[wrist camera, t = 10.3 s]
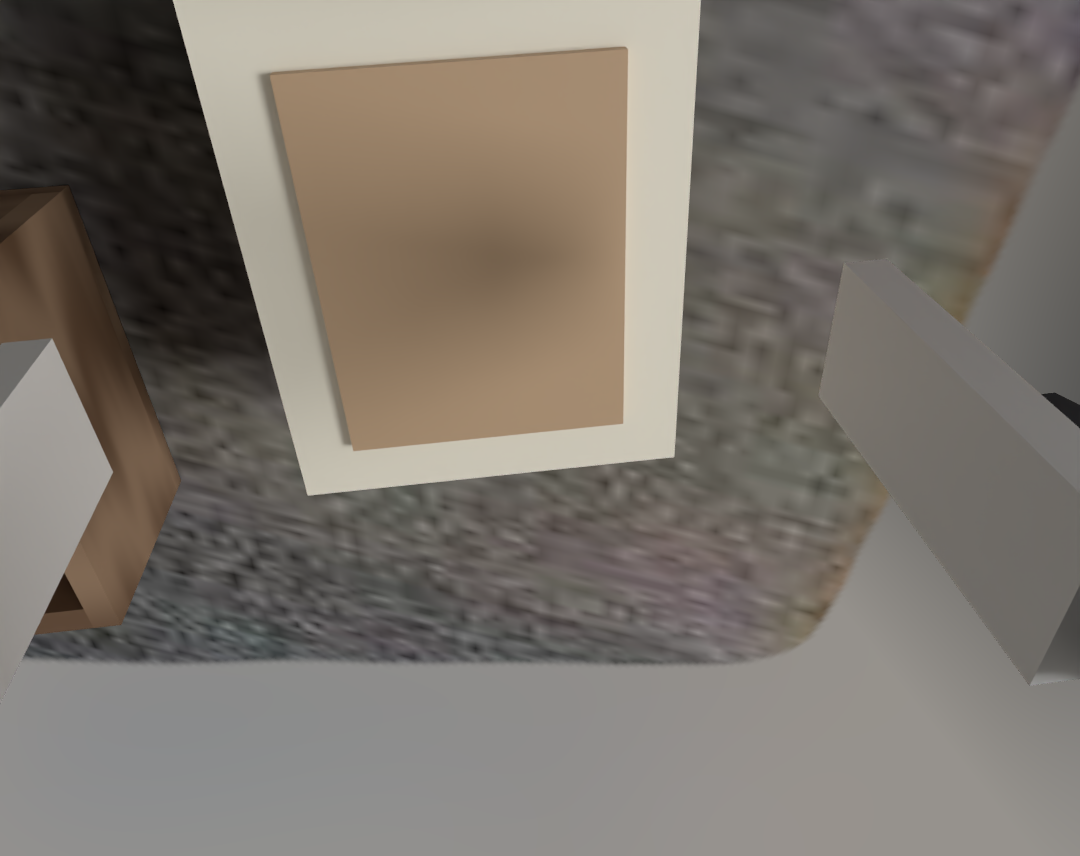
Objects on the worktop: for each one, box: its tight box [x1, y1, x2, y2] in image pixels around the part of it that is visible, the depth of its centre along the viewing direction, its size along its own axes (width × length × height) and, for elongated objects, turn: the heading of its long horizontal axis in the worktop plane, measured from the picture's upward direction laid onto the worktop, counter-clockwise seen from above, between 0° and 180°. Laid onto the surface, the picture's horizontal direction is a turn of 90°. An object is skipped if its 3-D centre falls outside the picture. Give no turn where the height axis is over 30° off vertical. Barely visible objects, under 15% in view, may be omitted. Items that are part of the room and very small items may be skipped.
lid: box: [173, 0, 701, 495], centre depth 19 cm, size 12×10×3 cm
